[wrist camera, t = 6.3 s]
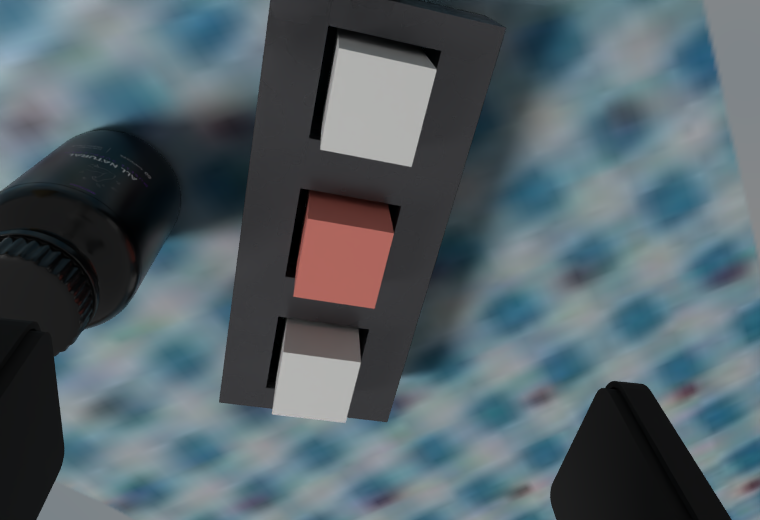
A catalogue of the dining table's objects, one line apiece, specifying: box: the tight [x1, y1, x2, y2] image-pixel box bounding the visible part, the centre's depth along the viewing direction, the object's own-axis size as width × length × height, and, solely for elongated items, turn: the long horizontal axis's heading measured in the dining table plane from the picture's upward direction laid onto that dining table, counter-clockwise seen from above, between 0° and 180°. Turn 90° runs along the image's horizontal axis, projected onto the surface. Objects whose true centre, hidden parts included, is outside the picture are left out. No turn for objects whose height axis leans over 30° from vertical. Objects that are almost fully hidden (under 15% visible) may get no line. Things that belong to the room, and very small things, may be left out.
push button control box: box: [219, 0, 506, 422], centre depth 31 cm, size 27×10×4 cm, turn 167°
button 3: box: [272, 317, 361, 423], centre depth 34 cm, size 4×4×6 cm
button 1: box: [320, 28, 437, 167], centre depth 28 cm, size 4×4×6 cm
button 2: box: [293, 190, 394, 309], centre depth 31 cm, size 4×4×6 cm
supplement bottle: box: [0, 130, 181, 356], centre depth 27 cm, size 7×7×12 cm
